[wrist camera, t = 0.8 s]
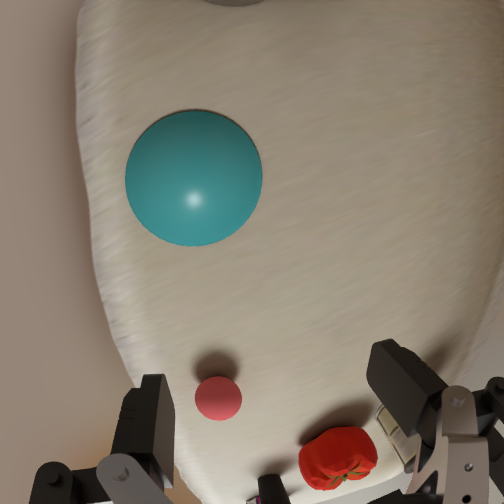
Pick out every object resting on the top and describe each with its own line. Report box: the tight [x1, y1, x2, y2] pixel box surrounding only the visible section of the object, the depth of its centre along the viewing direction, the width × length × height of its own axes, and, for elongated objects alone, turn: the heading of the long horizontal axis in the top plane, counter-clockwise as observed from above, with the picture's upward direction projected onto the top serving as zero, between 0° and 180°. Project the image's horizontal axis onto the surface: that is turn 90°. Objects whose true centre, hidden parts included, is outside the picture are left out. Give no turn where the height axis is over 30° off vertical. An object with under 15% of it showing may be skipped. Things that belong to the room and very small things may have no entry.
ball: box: [195, 376, 242, 421], centre depth 30 cm, size 6×6×6 cm
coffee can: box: [375, 404, 420, 474], centre depth 37 cm, size 10×10×14 cm
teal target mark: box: [125, 111, 262, 246], centre depth 24 cm, size 12×12×1 cm
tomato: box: [299, 426, 378, 491], centre depth 38 cm, size 14×13×10 cm
